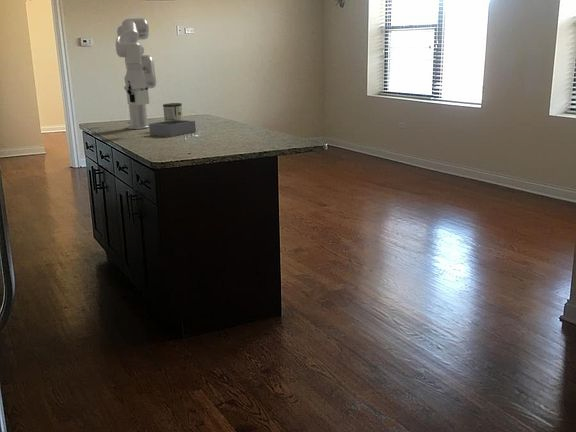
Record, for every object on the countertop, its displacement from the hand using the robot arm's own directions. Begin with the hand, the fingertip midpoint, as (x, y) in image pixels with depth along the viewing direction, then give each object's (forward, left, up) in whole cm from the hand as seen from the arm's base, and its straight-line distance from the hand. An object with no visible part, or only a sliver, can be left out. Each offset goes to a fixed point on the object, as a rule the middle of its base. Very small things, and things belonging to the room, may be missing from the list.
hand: (138, 101), depth 336 cm
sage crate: (0, 0, -1) cm, 1 cm away
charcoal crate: (+15, +9, -18) cm, 25 cm away
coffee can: (+1, +23, -18) cm, 29 cm away
